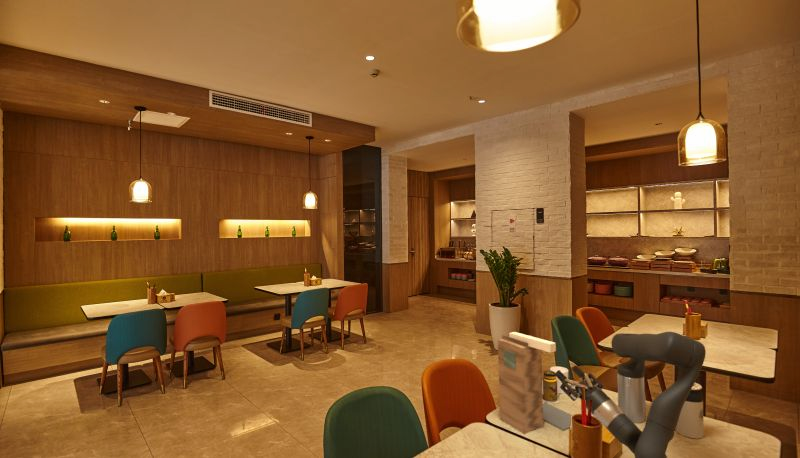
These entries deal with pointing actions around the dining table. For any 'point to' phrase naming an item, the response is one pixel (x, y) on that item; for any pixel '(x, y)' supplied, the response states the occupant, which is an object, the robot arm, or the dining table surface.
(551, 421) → the slate board
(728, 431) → the dining table surface
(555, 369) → the white cup
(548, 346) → the ivory plug peg
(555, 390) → the condiment
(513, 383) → the walnut tower
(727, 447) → the dining table surface
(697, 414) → the travel mug
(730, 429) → the dining table surface
